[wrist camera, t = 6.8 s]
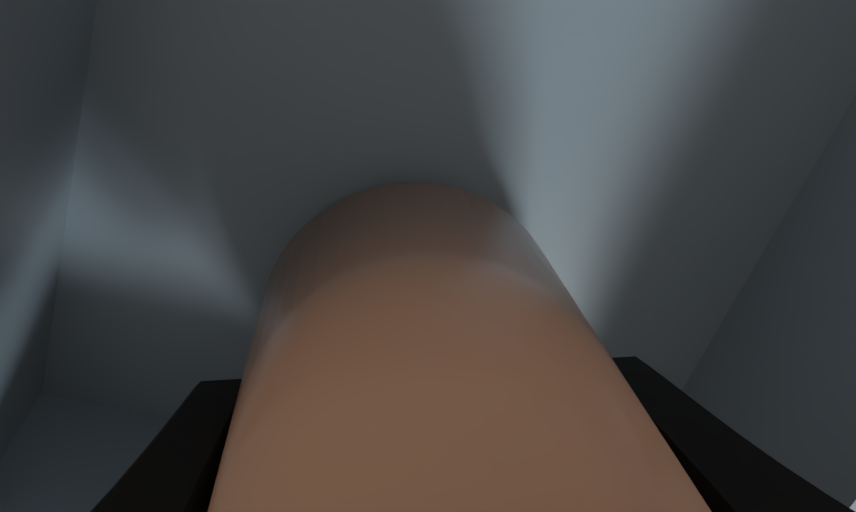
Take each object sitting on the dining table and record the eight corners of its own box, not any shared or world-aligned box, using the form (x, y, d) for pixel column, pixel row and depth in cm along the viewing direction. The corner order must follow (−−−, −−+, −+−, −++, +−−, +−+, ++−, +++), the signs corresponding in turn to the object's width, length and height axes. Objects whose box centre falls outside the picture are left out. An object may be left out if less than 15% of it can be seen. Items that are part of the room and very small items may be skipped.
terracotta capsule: (335, 129, 11) (312, 383, 4) (610, 256, 12) (910, 599, 6) (216, 391, 12) (69, 868, 6) (472, 480, 14) (581, 952, 7)
